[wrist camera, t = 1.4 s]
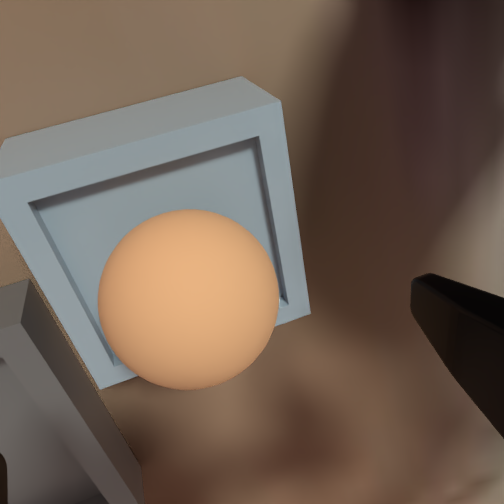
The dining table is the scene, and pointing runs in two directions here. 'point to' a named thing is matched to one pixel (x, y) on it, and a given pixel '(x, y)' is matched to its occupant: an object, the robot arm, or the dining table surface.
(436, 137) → the dining table surface
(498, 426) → the robot arm
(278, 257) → the light blue storage bin
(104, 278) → the ball
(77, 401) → the tray
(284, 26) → the dining table surface
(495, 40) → the dining table surface
